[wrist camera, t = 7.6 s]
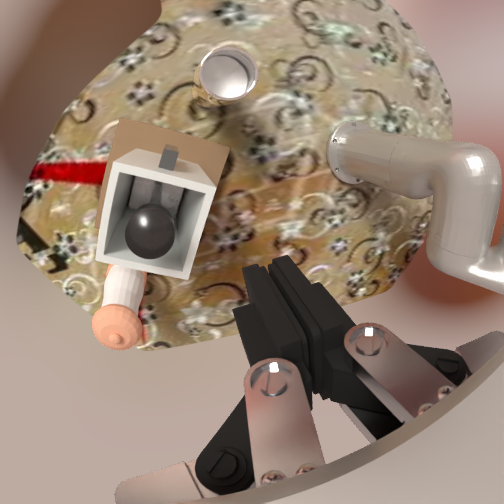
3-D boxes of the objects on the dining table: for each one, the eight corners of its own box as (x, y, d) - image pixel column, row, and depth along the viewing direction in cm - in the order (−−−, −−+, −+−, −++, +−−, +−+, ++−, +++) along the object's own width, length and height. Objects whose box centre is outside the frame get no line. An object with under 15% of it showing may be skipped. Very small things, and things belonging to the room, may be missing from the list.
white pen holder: (228, 146, 43) (269, 160, 26) (195, 245, 49) (213, 315, 31) (122, 118, 36) (86, 110, 19) (97, 223, 42) (59, 285, 25)
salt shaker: (124, 242, 45) (105, 308, 28) (155, 267, 48) (153, 339, 32) (101, 270, 45) (78, 341, 29) (131, 293, 49) (123, 368, 32)
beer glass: (199, 118, 40) (213, 112, 27) (181, 81, 36) (186, 59, 23) (238, 100, 40) (270, 88, 27) (221, 64, 37) (245, 37, 24)
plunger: (188, 170, 40) (204, 204, 23) (175, 216, 43) (181, 282, 25) (141, 158, 37) (116, 183, 20) (128, 205, 40) (102, 265, 22)
